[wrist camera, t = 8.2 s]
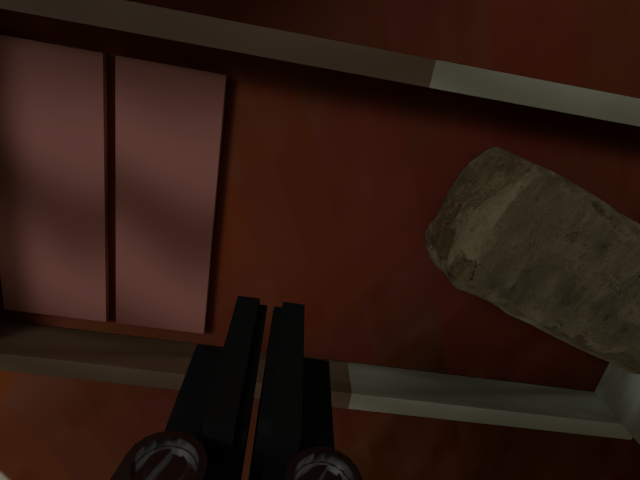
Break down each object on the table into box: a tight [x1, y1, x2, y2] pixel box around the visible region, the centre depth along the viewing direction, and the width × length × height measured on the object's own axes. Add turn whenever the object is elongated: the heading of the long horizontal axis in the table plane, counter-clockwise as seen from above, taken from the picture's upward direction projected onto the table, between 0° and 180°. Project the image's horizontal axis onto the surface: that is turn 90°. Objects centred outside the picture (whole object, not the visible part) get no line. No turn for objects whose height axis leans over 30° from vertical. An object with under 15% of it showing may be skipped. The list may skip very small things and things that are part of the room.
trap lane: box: [0, 0, 640, 444], centre depth 20 cm, size 17×36×4 cm, turn 80°
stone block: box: [425, 147, 640, 374], centre depth 20 cm, size 6×12×5 cm, turn 63°
